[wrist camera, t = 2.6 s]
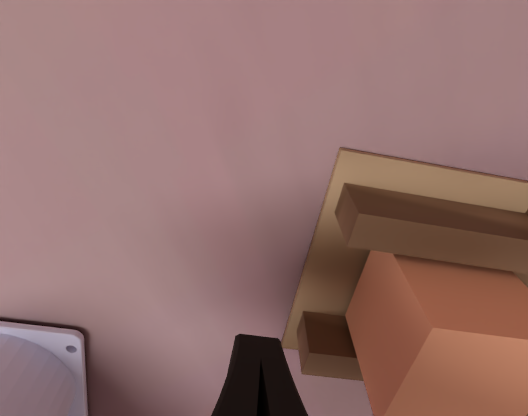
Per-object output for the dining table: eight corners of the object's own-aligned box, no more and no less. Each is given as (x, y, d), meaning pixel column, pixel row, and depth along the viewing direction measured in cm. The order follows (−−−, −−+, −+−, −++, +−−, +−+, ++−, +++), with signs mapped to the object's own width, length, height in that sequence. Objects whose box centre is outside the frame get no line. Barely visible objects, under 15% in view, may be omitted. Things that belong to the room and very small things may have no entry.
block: (441, 327, 19) (505, 440, 14) (345, 315, 18) (377, 427, 13) (487, 246, 16) (584, 347, 12) (379, 228, 16) (432, 327, 11)
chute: (600, 381, 22) (643, 429, 19) (281, 343, 20) (284, 391, 17) (750, 220, 17) (835, 258, 14) (339, 147, 15) (356, 176, 12)
